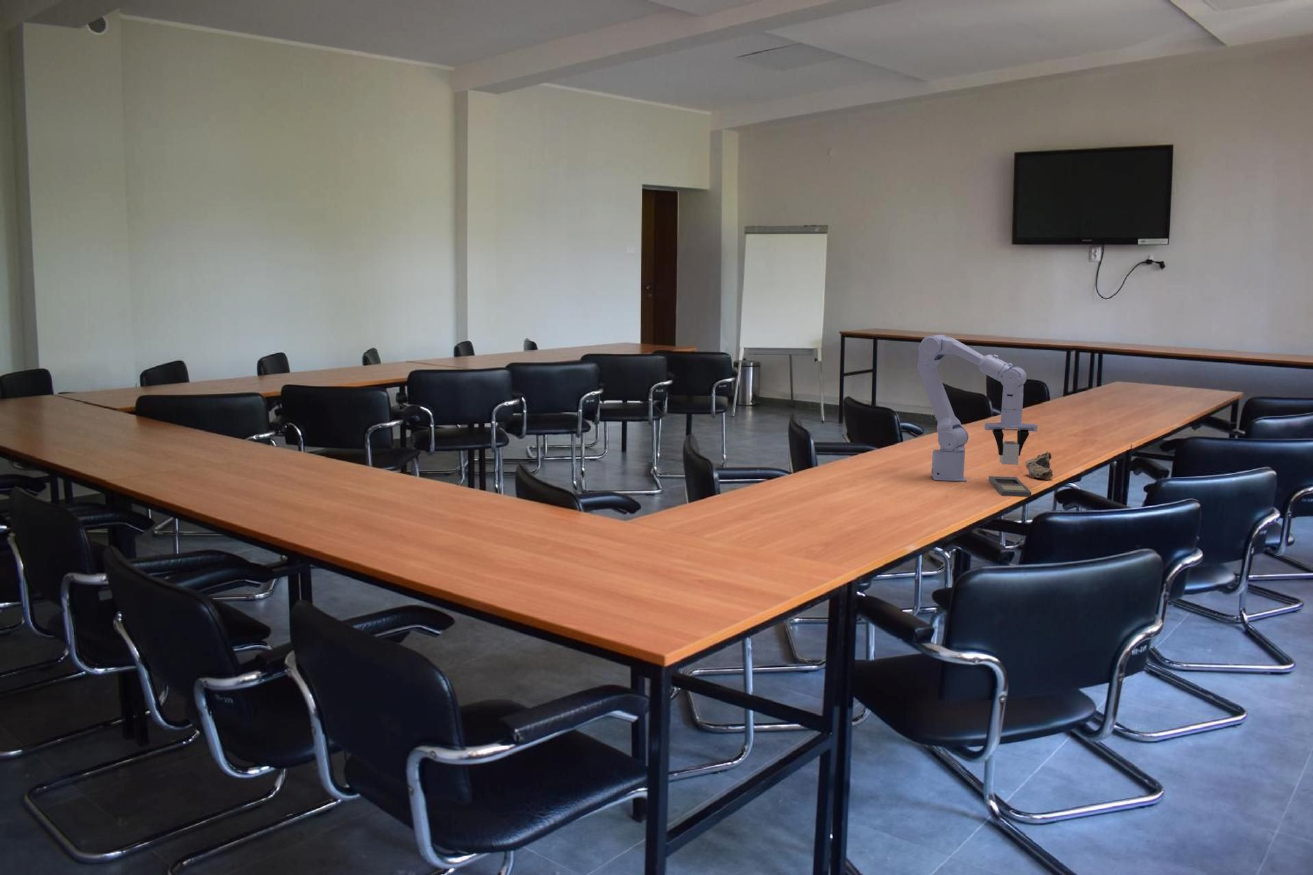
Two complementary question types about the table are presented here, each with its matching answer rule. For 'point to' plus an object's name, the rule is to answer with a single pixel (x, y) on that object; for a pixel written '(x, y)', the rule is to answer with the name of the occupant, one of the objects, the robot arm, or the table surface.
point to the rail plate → (1009, 486)
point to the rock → (1040, 467)
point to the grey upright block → (1010, 453)
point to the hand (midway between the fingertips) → (1009, 455)
